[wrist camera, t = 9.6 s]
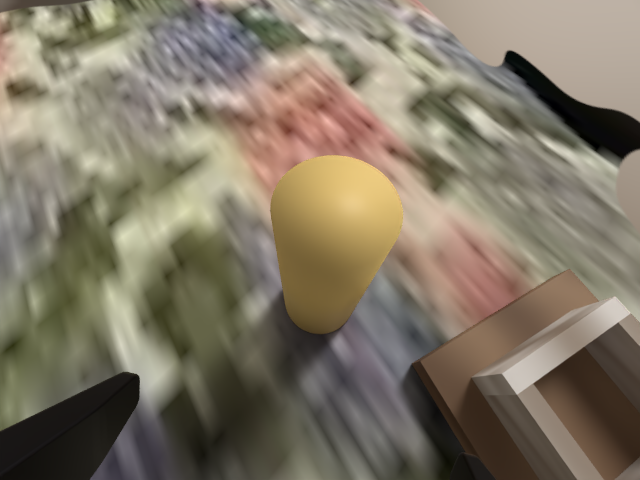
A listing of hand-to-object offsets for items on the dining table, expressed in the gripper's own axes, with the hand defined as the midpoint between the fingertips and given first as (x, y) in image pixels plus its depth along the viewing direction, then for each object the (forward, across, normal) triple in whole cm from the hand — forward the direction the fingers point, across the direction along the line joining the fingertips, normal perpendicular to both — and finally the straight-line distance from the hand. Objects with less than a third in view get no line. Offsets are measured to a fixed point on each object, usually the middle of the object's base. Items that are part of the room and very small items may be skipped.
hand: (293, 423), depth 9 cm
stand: (+9, -14, +5) cm, 18 cm away
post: (+12, 0, +2) cm, 12 cm away
